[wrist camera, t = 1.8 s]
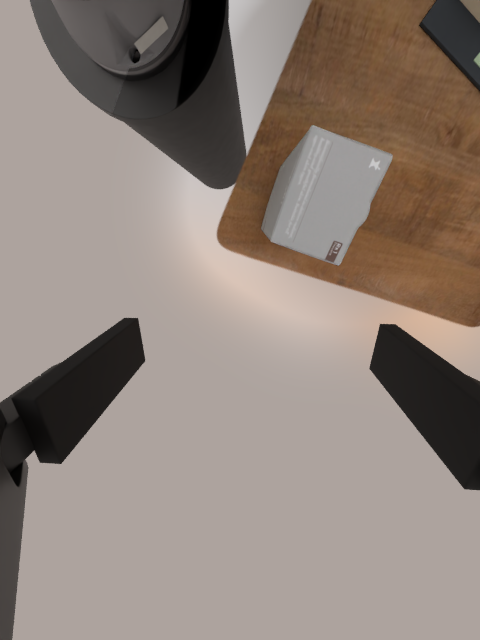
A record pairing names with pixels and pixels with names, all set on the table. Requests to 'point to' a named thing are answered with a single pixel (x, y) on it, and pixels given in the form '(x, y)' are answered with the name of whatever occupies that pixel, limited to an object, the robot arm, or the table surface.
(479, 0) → the dark base board
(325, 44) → the table surface
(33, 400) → the robot arm
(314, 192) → the cosmetic box
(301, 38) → the table surface
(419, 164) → the table surface
